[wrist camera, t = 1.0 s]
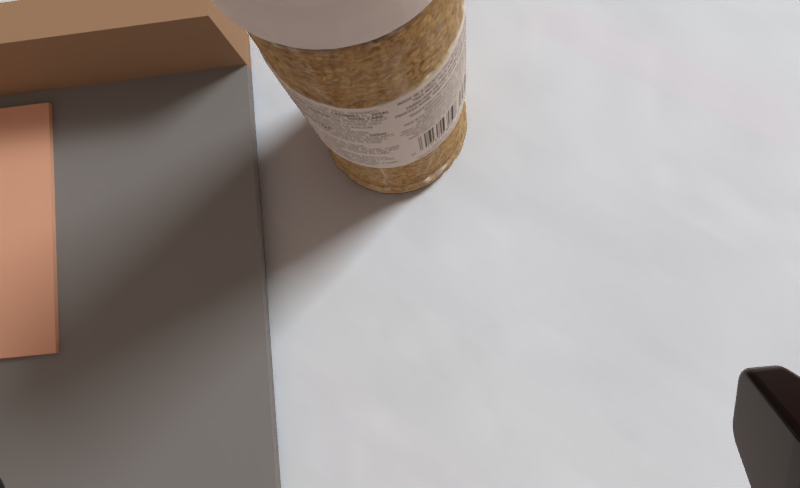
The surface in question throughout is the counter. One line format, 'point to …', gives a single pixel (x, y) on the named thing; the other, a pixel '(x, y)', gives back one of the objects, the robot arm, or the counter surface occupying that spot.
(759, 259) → the counter surface
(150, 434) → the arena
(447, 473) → the counter surface
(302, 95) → the sprinkles bottle
